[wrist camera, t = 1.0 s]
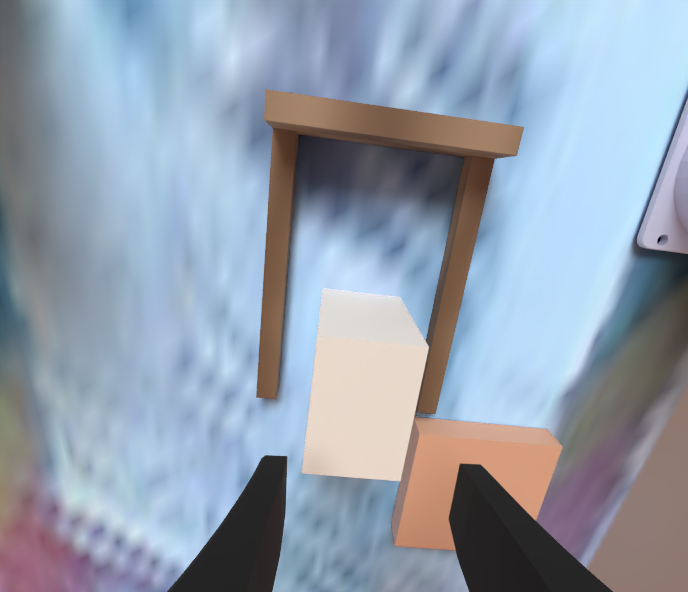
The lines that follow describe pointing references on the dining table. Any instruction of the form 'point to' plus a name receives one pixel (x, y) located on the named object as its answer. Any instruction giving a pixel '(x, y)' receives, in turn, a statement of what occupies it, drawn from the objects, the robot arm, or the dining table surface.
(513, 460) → the tile
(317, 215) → the dining table surface
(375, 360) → the block
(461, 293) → the frame
